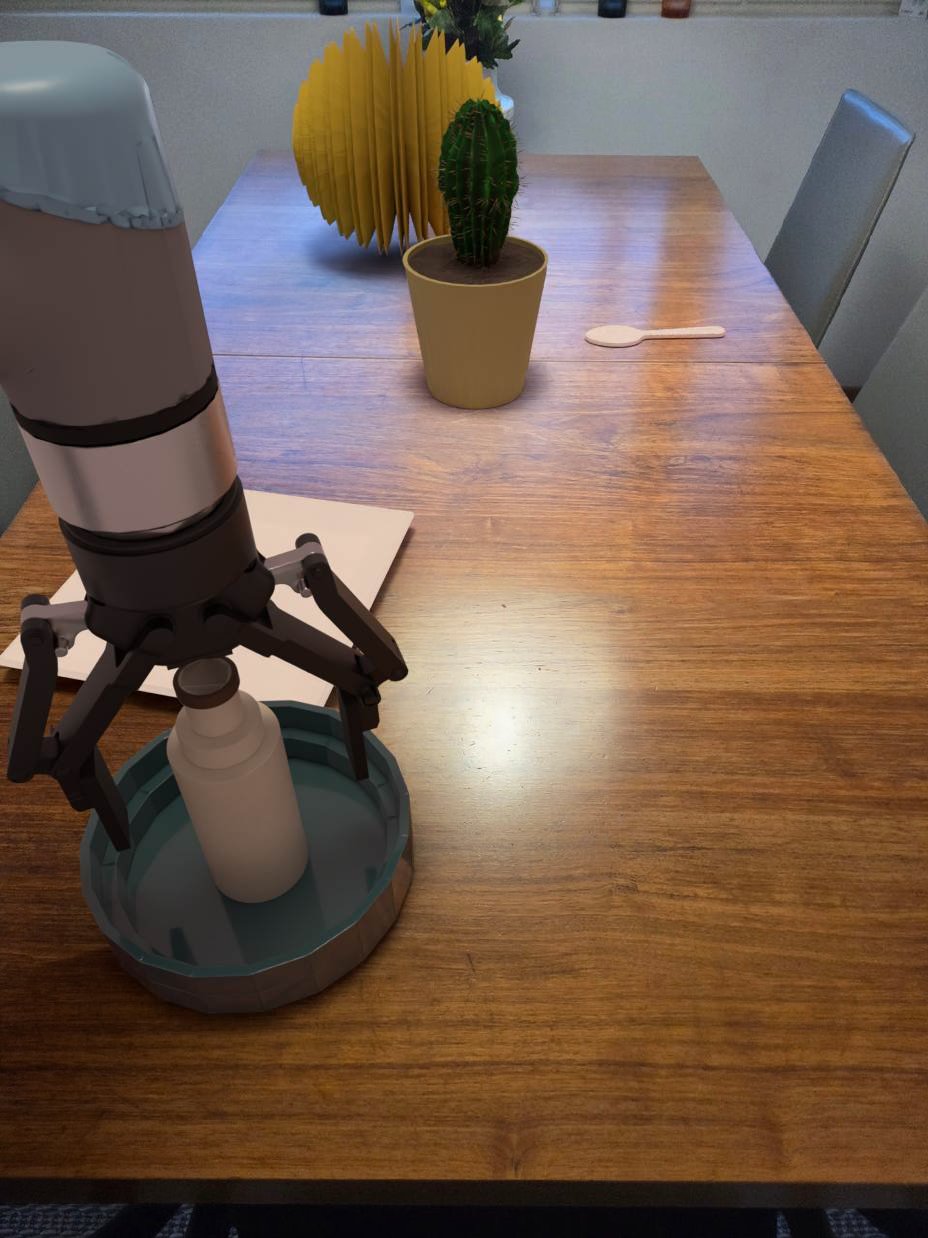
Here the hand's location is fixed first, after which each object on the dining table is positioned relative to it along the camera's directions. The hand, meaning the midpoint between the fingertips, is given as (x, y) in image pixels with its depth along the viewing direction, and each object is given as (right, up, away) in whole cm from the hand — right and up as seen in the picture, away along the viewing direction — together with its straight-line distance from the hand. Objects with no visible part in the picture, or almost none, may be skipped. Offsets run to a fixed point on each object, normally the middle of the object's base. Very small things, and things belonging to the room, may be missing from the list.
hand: (243, 796), depth 51 cm
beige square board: (-7, +12, +24) cm, 28 cm away
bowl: (0, -5, +5) cm, 7 cm away
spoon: (+37, +46, +61) cm, 85 cm away
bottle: (0, -5, +4) cm, 7 cm away
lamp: (+4, +67, +84) cm, 107 cm away
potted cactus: (+14, +38, +52) cm, 66 cm away
